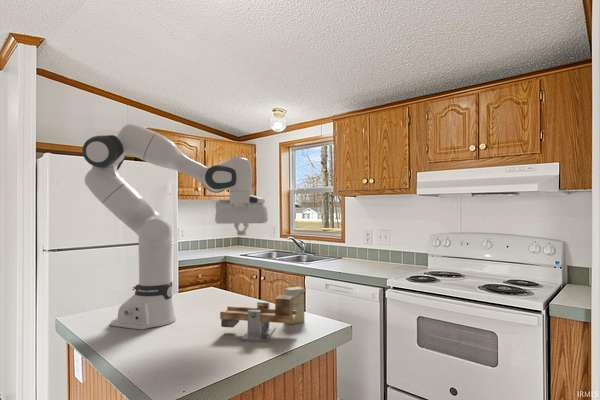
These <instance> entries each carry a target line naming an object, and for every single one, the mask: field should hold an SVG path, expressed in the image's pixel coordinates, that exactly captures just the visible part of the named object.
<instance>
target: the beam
mask: <svg viewBox="0 0 600 400" xmlns="http://www.w3.org/2000/svg"><path fill="white" fill-rule="evenodd" d="M248 310H261V322H270V323H276V324H277V323H278V324H279V323H280V324H289V323H292V324H291V325H293V322H294V321H295V319H296V317H297V310H293V314H292V316H287V315H275V308H269V309H264V305H259V308H257V307H247V306H246V307H244V306H243V307H242V306H227V309H226V310H225V311H220V315H219V317H220V318H219V319H220V320H221V322H220V323H221V328H234V327H236V326H237V325H238V324H239V323H240V321H245V322H246V321H247V322H248Z"/></svg>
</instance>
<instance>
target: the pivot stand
mask: <svg viewBox="0 0 600 400" xmlns="http://www.w3.org/2000/svg"><path fill="white" fill-rule="evenodd" d="M259 305H264V309H270V301H257V302H256V308H259ZM270 323H271V322H261V310H248V321H247V330H246V332H245V334H244V335H243V336H242V337H241V338H240V341H241V342H251V343H267V342H268V340H269V338H270V337H271V336H272V334H274V332H275V330H276V329H277V328H276V326H275V325H270Z"/></svg>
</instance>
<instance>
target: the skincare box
mask: <svg viewBox="0 0 600 400" xmlns="http://www.w3.org/2000/svg"><path fill="white" fill-rule="evenodd" d="M284 295H287V296H293V310H297V317H296V319H295V321H294V322H293V324H300V323H304V322H305V288H303V287H301V286H292V287H284ZM288 324H289V325H293V324H292V323H288Z"/></svg>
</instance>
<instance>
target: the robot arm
mask: <svg viewBox="0 0 600 400" xmlns="http://www.w3.org/2000/svg"><path fill="white" fill-rule="evenodd" d="M81 153H82V156H83V158H84V160H85V161H86V162H87V163H88V164H90V165H91V166H92V167H91V169H89V171H88V172H87V173H86V174H85V177H84V184H85V185H86V187H87V188H88V190H89V191H90V192H91V193H92V194H93V196H94V197H95V198H96V199H97V200H98V201H99V202H100V203H101V204H102V205H103V206H104V207H105V208H107V209H108V210H109V211H110V212H111V213H112V214H113V215H114V216H115V217H116V218H117V219H118V220H120V221H121V222H122V223H123V224H125V225H126V226H127V227H128V228H129V229H131V230H132V231H133V232H134V233H135V234H136V235H137V237H138V275H139V276H138V284H137V285H135V286H132V287H131V288H132V290H131V291H134V294H133V295H132V296H131V297H129V298H128V299H127V300H126V301H124V303H122V304H121V305H120V306H119V308H118V312H117V317H115V318H113V320H111V321H110V324H109V325H110V326H112V327H120V328H125V329H126V328H127V329H133V330H142V331H143V330H146V329H150V328H156V327H162V326H166V325H169V324H172V323H174V322H175V321H177V318H176V314H175V311H174V305H173V281H172V233H173V231H172V226H171V224H170V223H169V221H168V220H166V218H164V216H162V215H161V214H160V213H159V212H158V211H157V210H156V209H155V208H154V207H153V206H152V205H151V204H150V202H148V201H147V199H145V198H144V197H143V196H142V195H141V194H140V193H139V192H137V190H136V189H135V188H134V187H132V186H131V185H130V184H129V183H128V182H127V181H126V180H125V179H124V178H123V177H122V176H121V175H120V174H119V172H118V171H119V170H120V168H121V166H122V165H123V162H124V161H125V159H126V157H127V156H132V157H136V158H137V159H140V160H142V161H144V162H147V163H149V164H152V165H154V166H158V167H162V168H165V169H168V170H169V169H170V170H173V171H176V172H180V173H181V174H184V175H186V176H188V177H190V178H192V179H194V180H197V181H198V182H200V183H201V184H202V185H203V187H204V188H206V190H208V191H209V192H211V193H215V194H218V193H223V192H224V191H225V190H229V199H219V200H218V201H216V202H215V215H214V216H215V217H214V221H215V223H216V224H233V226H234V228H235V230H236V235H237V236H246V234H247V230H248V228H249V224H266V223H267V222H268V220H269V217H268V215H269V214H268V209H267V206H266V205H265V203H266V202H265V198H263V197H261V196H257V195H253V194H254V193H253V191H254V190H253V187H252V184H253V168H252V163H251V161H250V160H249V159H248V158H246V157H242V156H232V157H230V158H229V159H227V160H226V161H224V162H220V163H218V164H215V165H211V166H210V167H207V166H206V165H203V164H202V163H200V162H197V160H196V161H195V160H194V159H191V158H189V157H188V156H186V155H185V154H184V153H183V152H182V151H181V150H180V149H179V148H178V146H177V145H176V144H175V143H174V142H173V141H172V140H170V139H169V138H168V137H165V136H164V135H162V134H160V133H158V132H156V131H154V130H152V129H148V128H146V127H144V126H141V125H137V124H133V123H130V124H126V125H124V126H123V127H122V128H121V129H120V131H119V133H118V134H117V135H114V134H112V135H111V134H110V135H109V134H108V135H95V136H92V137H90V138H88V139H87V140H86V141H85V142H84V143H83V146H82V152H81ZM240 224H242V225H243V226H242V227H243V230H241V229H240Z"/></svg>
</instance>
